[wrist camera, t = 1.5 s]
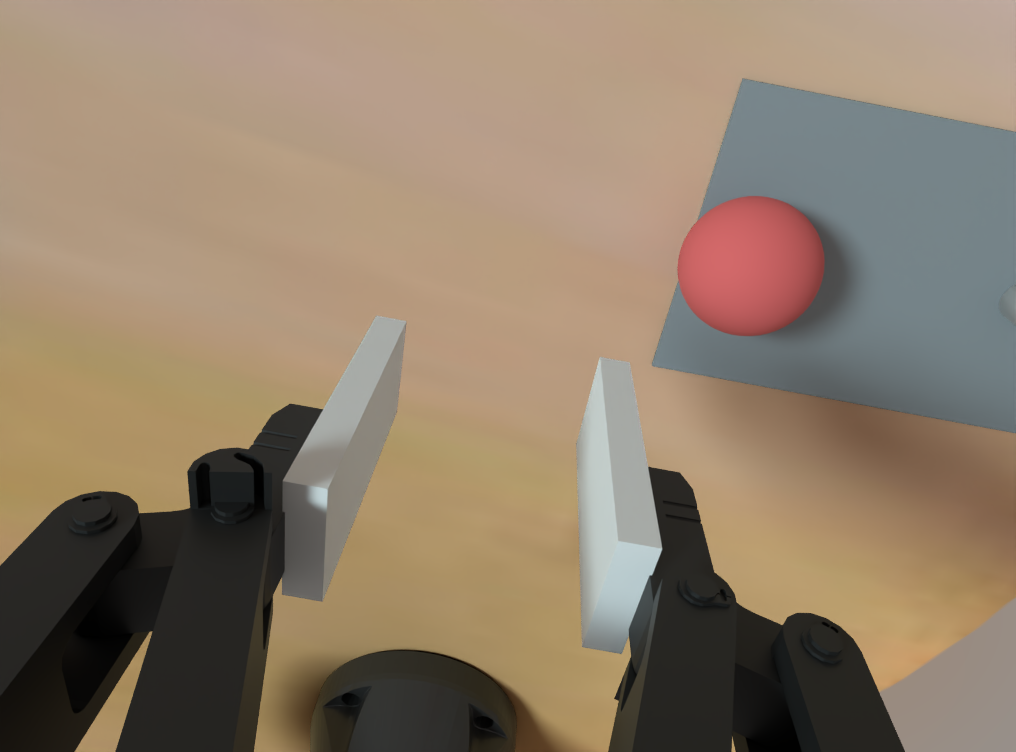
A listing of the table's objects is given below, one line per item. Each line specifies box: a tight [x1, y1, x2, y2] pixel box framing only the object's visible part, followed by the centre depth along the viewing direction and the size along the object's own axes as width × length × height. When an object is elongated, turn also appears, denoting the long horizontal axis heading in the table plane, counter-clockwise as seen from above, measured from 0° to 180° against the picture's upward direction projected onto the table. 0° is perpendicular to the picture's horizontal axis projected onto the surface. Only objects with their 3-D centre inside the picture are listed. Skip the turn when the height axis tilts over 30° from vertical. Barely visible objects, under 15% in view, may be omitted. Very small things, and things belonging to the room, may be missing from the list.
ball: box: [678, 196, 825, 336], centre depth 30 cm, size 6×6×6 cm
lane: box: [652, 79, 1016, 433], centre depth 32 cm, size 14×26×1 cm, turn 80°
